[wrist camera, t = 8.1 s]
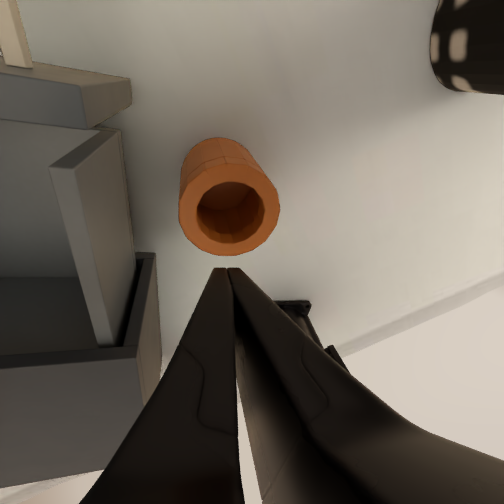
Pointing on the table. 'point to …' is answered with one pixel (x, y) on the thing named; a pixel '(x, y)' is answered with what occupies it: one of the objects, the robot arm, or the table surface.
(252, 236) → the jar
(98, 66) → the table surface
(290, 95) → the table surface
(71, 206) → the drawer
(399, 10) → the table surface
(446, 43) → the spotted tube
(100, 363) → the cabinet
